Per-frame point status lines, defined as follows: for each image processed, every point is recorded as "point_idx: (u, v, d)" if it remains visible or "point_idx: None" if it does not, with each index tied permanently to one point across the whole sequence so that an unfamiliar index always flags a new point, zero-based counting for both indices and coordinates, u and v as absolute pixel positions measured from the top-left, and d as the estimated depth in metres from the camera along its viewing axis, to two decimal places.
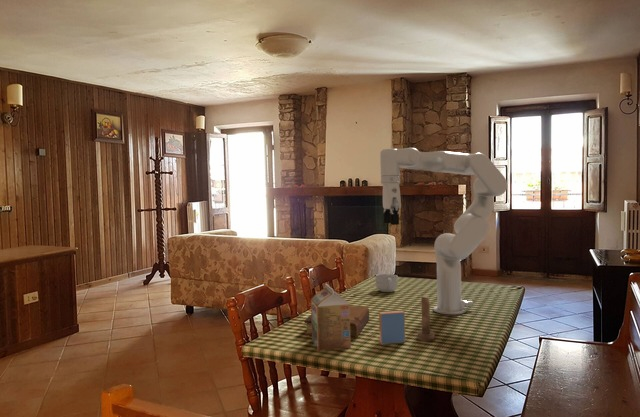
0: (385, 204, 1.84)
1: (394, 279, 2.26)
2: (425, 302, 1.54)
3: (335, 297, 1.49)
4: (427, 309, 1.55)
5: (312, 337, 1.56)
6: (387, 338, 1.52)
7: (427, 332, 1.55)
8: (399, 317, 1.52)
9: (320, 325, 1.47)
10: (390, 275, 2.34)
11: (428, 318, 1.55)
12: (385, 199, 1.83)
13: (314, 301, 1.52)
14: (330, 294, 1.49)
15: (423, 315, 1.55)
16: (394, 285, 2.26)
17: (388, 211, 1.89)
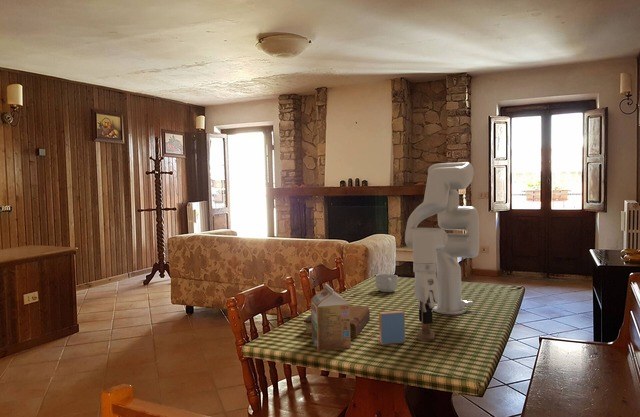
0: (419, 296, 1.55)
1: (394, 279, 2.26)
2: None
3: (335, 297, 1.49)
4: None
5: (312, 337, 1.56)
6: (387, 338, 1.52)
7: (427, 332, 1.55)
8: (399, 317, 1.52)
9: (320, 325, 1.47)
10: (390, 275, 2.34)
11: None
12: (419, 290, 1.54)
13: (314, 301, 1.52)
14: (330, 294, 1.49)
15: None
16: (394, 285, 2.26)
17: None
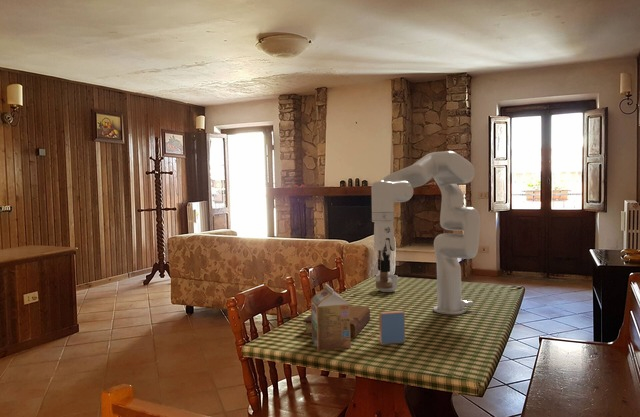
0: (377, 245, 1.59)
1: (394, 279, 2.26)
2: None
3: (335, 297, 1.49)
4: None
5: (312, 337, 1.56)
6: (387, 338, 1.52)
7: (385, 280, 1.59)
8: (399, 317, 1.52)
9: (320, 325, 1.47)
10: (390, 275, 2.34)
11: None
12: (377, 239, 1.59)
13: (314, 301, 1.52)
14: (330, 294, 1.49)
15: None
16: (394, 285, 2.26)
17: None
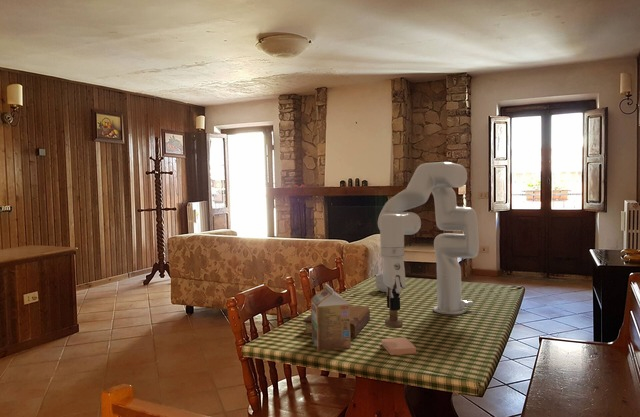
0: (386, 281, 1.50)
1: None
2: None
3: (335, 297, 1.49)
4: None
5: (312, 337, 1.56)
6: None
7: (394, 319, 1.50)
8: None
9: (320, 325, 1.47)
10: None
11: None
12: (386, 275, 1.49)
13: (314, 301, 1.52)
14: (330, 294, 1.49)
15: None
16: None
17: None
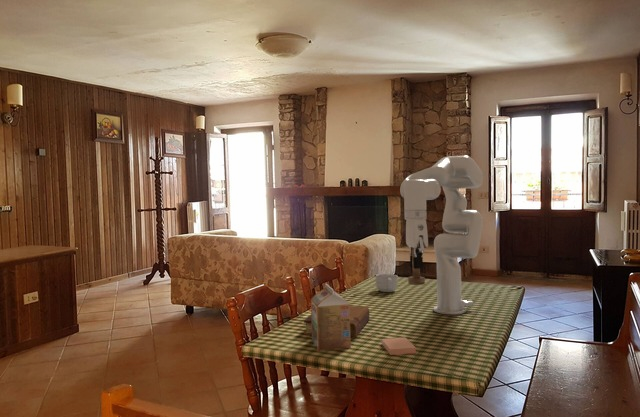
0: (409, 242, 1.62)
1: (394, 279, 2.26)
2: None
3: (335, 297, 1.49)
4: None
5: (312, 337, 1.56)
6: None
7: (417, 276, 1.62)
8: None
9: (320, 325, 1.47)
10: (390, 275, 2.34)
11: None
12: (410, 236, 1.62)
13: (314, 301, 1.52)
14: (330, 294, 1.49)
15: None
16: (394, 285, 2.26)
17: None
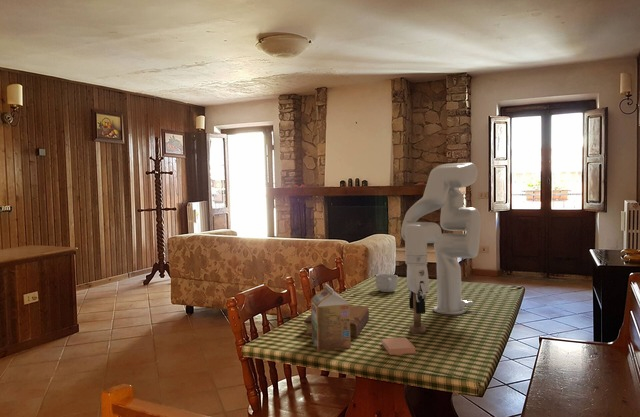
0: (410, 286, 1.63)
1: (394, 279, 2.26)
2: None
3: (335, 297, 1.49)
4: None
5: (312, 337, 1.56)
6: None
7: (418, 325, 1.63)
8: None
9: (320, 325, 1.47)
10: (390, 275, 2.34)
11: None
12: (411, 281, 1.62)
13: (314, 301, 1.52)
14: (330, 294, 1.49)
15: (414, 309, 1.63)
16: (394, 285, 2.26)
17: None
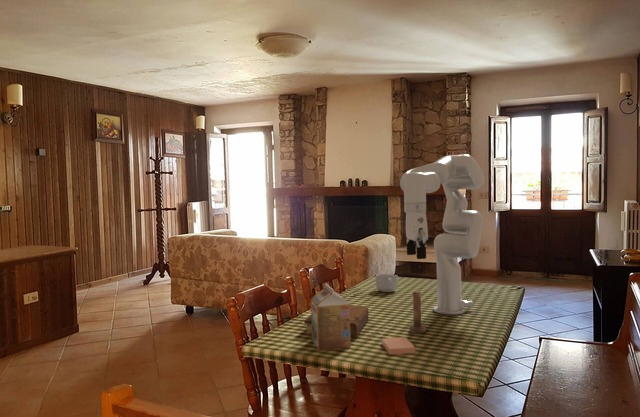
0: (409, 235, 1.63)
1: (394, 279, 2.26)
2: (416, 297, 1.62)
3: (335, 297, 1.49)
4: (418, 303, 1.63)
5: (312, 337, 1.56)
6: None
7: (418, 325, 1.63)
8: None
9: (320, 325, 1.47)
10: (390, 275, 2.34)
11: (419, 312, 1.63)
12: (410, 229, 1.62)
13: (314, 301, 1.52)
14: (330, 294, 1.49)
15: (414, 309, 1.63)
16: (394, 285, 2.26)
17: (412, 241, 1.69)
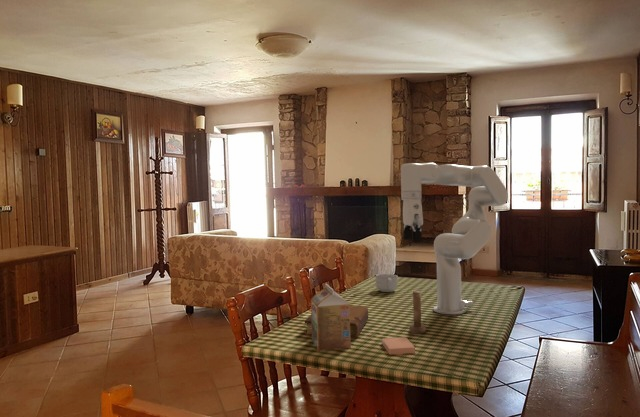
0: (406, 220, 1.77)
1: (394, 279, 2.26)
2: (416, 297, 1.62)
3: (335, 297, 1.49)
4: (418, 303, 1.63)
5: (312, 337, 1.56)
6: None
7: (418, 325, 1.63)
8: None
9: (320, 325, 1.47)
10: (390, 275, 2.34)
11: (419, 312, 1.63)
12: (406, 215, 1.77)
13: (314, 301, 1.52)
14: (330, 294, 1.49)
15: (414, 309, 1.63)
16: (394, 285, 2.26)
17: (408, 227, 1.83)
